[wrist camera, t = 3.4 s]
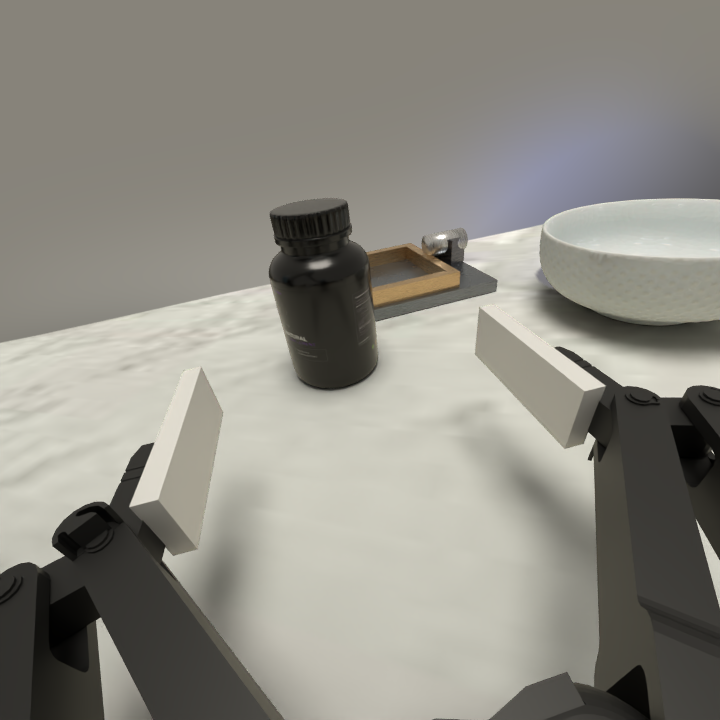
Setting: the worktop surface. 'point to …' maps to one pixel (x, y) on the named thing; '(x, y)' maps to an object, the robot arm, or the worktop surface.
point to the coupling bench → (424, 275)
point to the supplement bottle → (323, 293)
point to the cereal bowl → (638, 259)
